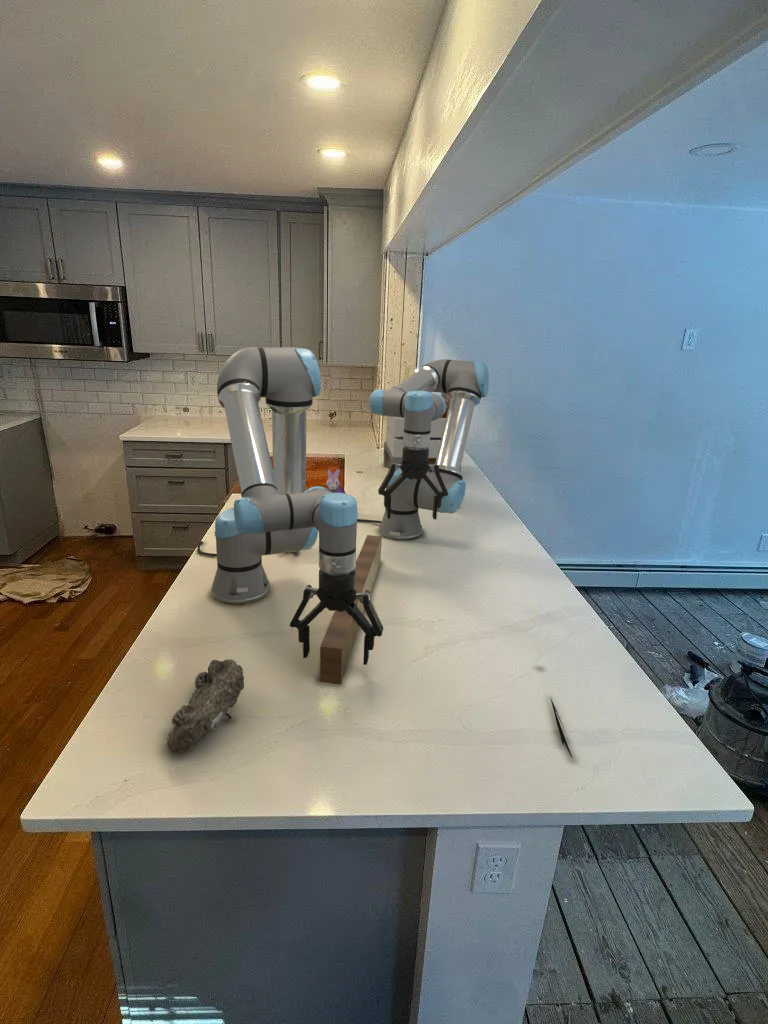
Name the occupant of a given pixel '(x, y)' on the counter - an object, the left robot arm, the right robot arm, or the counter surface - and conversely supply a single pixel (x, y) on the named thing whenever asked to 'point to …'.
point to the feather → (560, 728)
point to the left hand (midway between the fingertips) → (336, 658)
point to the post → (349, 616)
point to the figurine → (334, 482)
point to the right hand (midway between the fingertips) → (411, 517)
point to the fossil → (206, 705)
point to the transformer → (396, 432)
